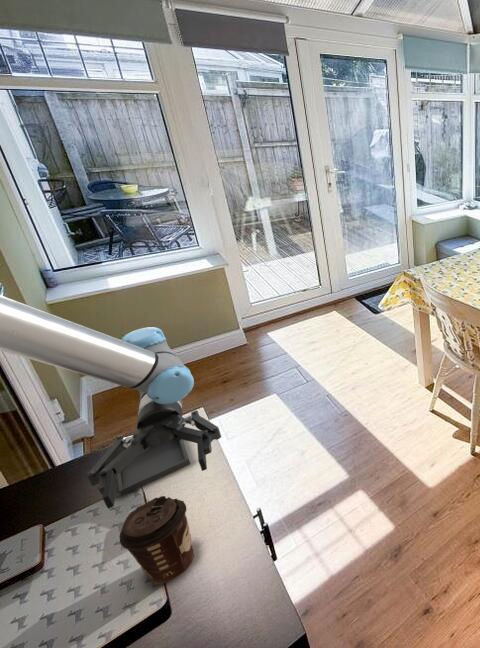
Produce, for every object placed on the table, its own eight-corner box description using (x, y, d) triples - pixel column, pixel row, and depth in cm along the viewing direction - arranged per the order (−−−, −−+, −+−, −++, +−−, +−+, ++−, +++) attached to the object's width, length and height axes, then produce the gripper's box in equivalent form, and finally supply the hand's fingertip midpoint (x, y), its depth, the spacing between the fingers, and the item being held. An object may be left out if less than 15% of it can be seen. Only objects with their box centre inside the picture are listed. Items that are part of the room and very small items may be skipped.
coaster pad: (121, 497, 84) (118, 491, 83) (116, 462, 92) (114, 456, 91) (191, 465, 92) (188, 459, 91) (181, 435, 99) (179, 429, 98)
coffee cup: (189, 531, 78) (169, 483, 73) (212, 555, 74) (193, 506, 69) (133, 573, 71) (106, 523, 66) (155, 602, 67) (128, 552, 62)
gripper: (230, 404, 99) (241, 464, 84) (90, 451, 86) (71, 535, 70) (223, 379, 96) (232, 437, 81) (76, 424, 83) (53, 505, 67)
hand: (157, 482), depth 75 cm, fingers open, 13 cm apart
